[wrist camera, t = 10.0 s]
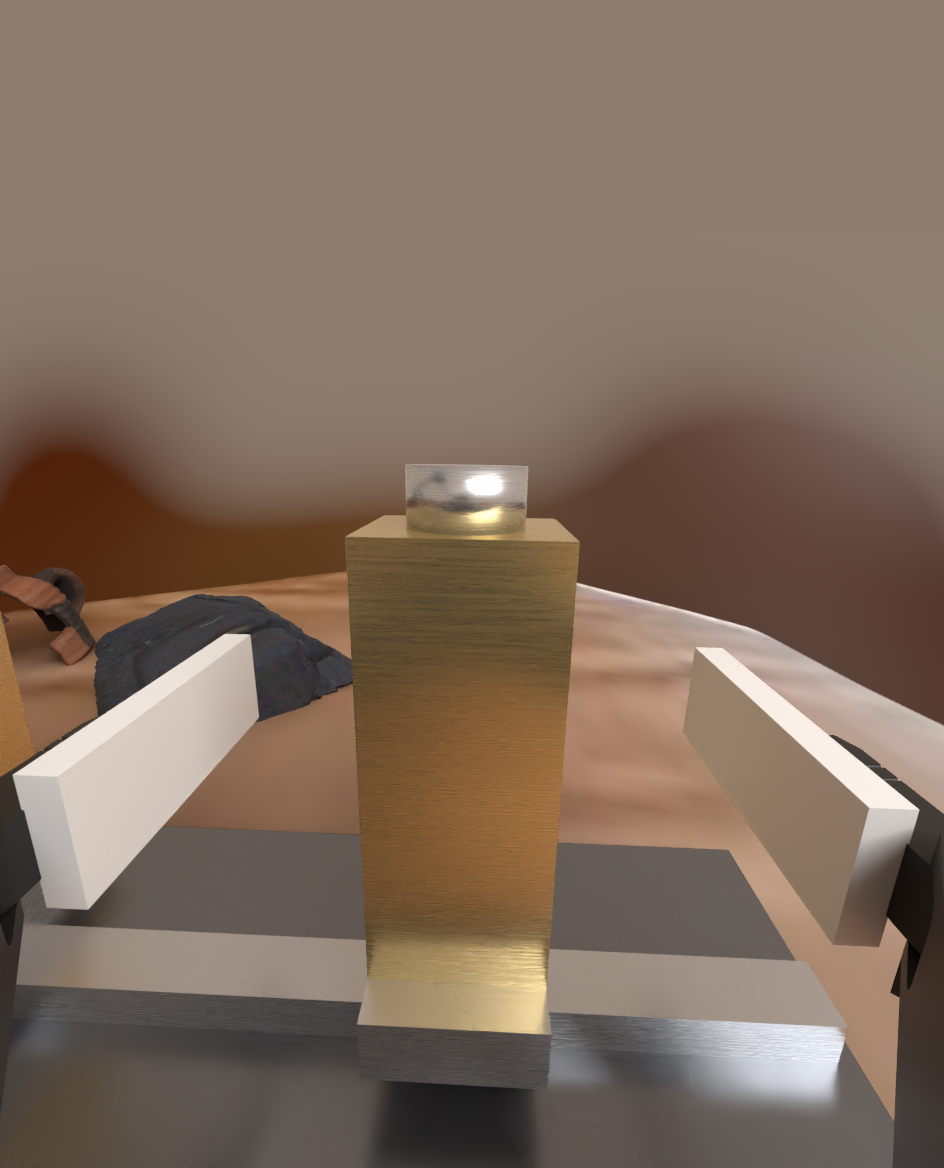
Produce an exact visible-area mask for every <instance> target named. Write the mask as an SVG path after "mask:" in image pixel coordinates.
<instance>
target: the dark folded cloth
mask: <svg viewBox="0 0 944 1168" xmlns="http://www.w3.org/2000/svg"><path fill="white" fill-rule="evenodd" d="M224 634H248V635H250V636H251V645H252V655H253V664H254V674H255V683H256V693H257V702H258V712H259V718H258V719H257V721H256V722H258V721H262V720H265V719H268V718H271V717H273V716H277V715H280V714H283V713H286V712H289V711H292V710H295V709H298V708H302V707H304V706H307V705H309V704H310V702H311V701H313V700H316V699H320V698H322V695H327V694H330V693H332V692H335V691H338V690H337V687H339V686H342V685H345V684H349V683H352V682H353V677H352V660H351V659H349V658H348V657H346V656H344V655H343V654H341V653H340V652H339V651H337V650H335V649H333V648H331V647H330V646H327V645H325V644H323V643H322V642H320V641H319V640H317V639H315V638H312V637H310V636H308V635H306V634H304V633H303V631H302V630H301V629H300V628H298V627H297V626H295V625H294V624H293V623H292V622H290V621H288V620H286V619H284V618H282V617H280V615H279V614H277V613H273V612H271V611H269V610H268V609H267V608H266V607H265V606H264V605H262V604H261V603H260V602H258V601H256V600H254V599H253V598H250V597H246V596H213V595H205V594H197V595H193V596H190V597H187V598H184V599H182V600H180V601H178V602H175V603H172V604H170V605H168V606H166V607H164V608H160V610H157V611H156V612H154V613H152V614H150V615H149V616H147V617H144V618H141V619H137V620H134V621H132V622H130V623H127V624H125V625H123V626H121V627H119V628H117V629H115V630H114V631H111V632H108V633H106V634H105V635H104V636H103V637H102V638H101V639H100V640H99V641H98V643H97V644H96V650H95V654H96V655H97V657H98V661H96V666H95V669H96V673H95V679H94V682H95V685H94V687H95V689H96V694H95V696H96V697H97V701H96V704H97V708H98V717H99V716H101V715H103V714H105V713H107V712H108V711H110V710H111V709H113V708H114V707H116V706H117V705H119V704H120V703H122V702H123V701H125V700H126V699H128V698H129V697H131V696H132V695H134V694H135V693H137V692H138V691H140V690H141V689H143V688H144V687H146V686H147V685H149V684H150V683H152V682H153V681H155V680H156V679H158V678H159V677H161V676H162V675H164V674H165V673H167V672H168V671H170V670H171V669H173V668H174V667H176V666H177V665H179V664H180V663H182V662H183V661H185V660H186V659H188V658H189V657H191V656H192V655H194V654H195V653H197V652H198V651H200V650H201V649H203V648H204V647H206V646H208V645H209V644H211V643H212V642H214V641H215V640H217V639H218V638H220V637H221V636H223V635H224ZM312 663H313V664H312Z"/></svg>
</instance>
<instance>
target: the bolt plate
mask: <svg viewBox="0 0 944 1168" xmlns="http://www.w3.org/2000/svg"><path fill="white" fill-rule="evenodd" d="M33 755H35V753H34V749H33V745H32V740H31V736H30V732H29V728H28V724H27V720H26V716H25V711H24V707H23V703H22V699H21V695H20V691H19V687H18V683H17V678H16V674H15V670H14V666H13V662H12V658H11V654H10V649H9V645H8V641H7V637H6V633H5V629H4V625H3V620H2V616H1V612H0V777H1V776H3V775H4V774H6V773H7V772H9V771H10V770H12V769H14V768H15V767H17V766H18V765H20V764H21V763H23V762H24V761H26V760H27V759H29V758H30V757H32V756H33ZM20 902H21V906H22V909H23V913H24V923H23V931H22V940H21V948H20V957H19V965H18V973H17V982H16V990H15V998H14V1007H13V1015H12V1024H11V1032H10V1040H9V1049H8V1057H7V1065H6V1074H5V1082H4V1090H3V1099H2V1107H1V1116H0V1168H892V1166H893V1142H894V1121H893V1120H892V1118H891V1116H890V1115H889V1113H888V1112H887V1110H886V1108H885V1107H884V1105H883V1103H882V1102H881V1100H880V1098H879V1097H878V1095H877V1093H876V1092H875V1090H874V1089H873V1087H872V1085H871V1084H870V1082H869V1080H868V1079H867V1077H866V1075H865V1074H864V1072H863V1070H862V1069H861V1067H860V1066H859V1064H858V1062H857V1061H856V1059H855V1057H854V1056H853V1054H852V1052H851V1051H850V1049H849V1047H848V1046H847V1044H846V1042H845V1038H846V1034H847V1031H848V1026H847V1025H846V1023H845V1021H844V1020H843V1018H842V1017H841V1015H840V1013H839V1012H838V1010H837V1009H836V1007H835V1006H834V1004H833V1002H832V1001H831V999H830V998H829V996H828V994H827V993H826V991H825V990H824V988H823V986H822V985H821V983H820V982H819V980H818V979H817V977H816V975H815V974H814V972H813V971H812V969H811V967H810V966H809V964H808V963H807V961H796V960H795V959H794V957H793V955H792V954H791V952H790V950H789V949H788V947H787V946H786V944H785V942H784V941H783V939H782V937H781V936H780V934H779V932H778V931H777V929H776V927H775V926H774V924H773V923H772V921H771V919H770V918H769V916H768V914H767V913H766V911H765V909H764V908H763V906H762V904H761V903H760V901H759V899H758V898H757V896H756V895H755V893H754V891H753V890H752V888H751V886H750V885H749V883H748V881H747V880H746V878H745V876H744V875H743V873H742V872H741V870H740V868H739V867H738V865H737V863H736V862H735V860H734V858H733V857H732V855H731V853H730V852H729V850H719V849H694V848H670V847H646V846H622V845H598V844H574V843H557V853H556V867H555V880H554V894H553V908H552V921H551V935H550V948H549V962H548V975H547V997H548V1006H549V1015H550V1025H551V1034H552V1036H551V1048H550V1061H549V1073H548V1086H547V1090H541V1089H523V1088H506V1087H488V1086H470V1085H453V1084H435V1083H418V1082H400V1081H383V1080H365V1079H360V1068H359V1051H358V1034H357V1022H358V1018H359V1013H360V1009H361V1005H362V1001H363V996H364V992H365V988H366V984H367V979H368V977H367V957H366V937H365V917H364V897H363V877H362V857H361V837H360V835H356V834H332V833H308V832H284V831H260V830H236V829H211V828H187V827H163V826H162V827H161V828H160V830H159V831H158V832H157V833H156V834H155V835H154V836H153V837H152V839H151V840H150V841H149V842H148V843H147V844H146V845H145V846H144V848H143V849H142V850H141V851H140V852H139V853H138V854H137V855H136V857H135V858H134V859H133V860H132V861H131V862H130V863H129V864H128V866H127V867H126V868H125V869H124V870H123V871H122V872H121V873H120V875H119V876H118V877H117V878H116V879H115V880H114V881H113V882H112V884H111V885H110V886H109V887H108V888H107V889H106V890H105V891H104V893H103V894H102V895H101V896H100V897H99V898H98V899H97V900H96V902H95V903H94V904H93V905H92V906H91V907H90V908H89V909H88V910H84V909H63V908H47V907H46V903H45V899H44V895H43V891H42V887H41V884H40V881H39V882H38V883H37V884H36V885H35V886H33V887H32V888H31V889H30V890H29V891H28V892H27V893H26V894H25V895H24V896H23V897H22V898H21V899H20Z"/></svg>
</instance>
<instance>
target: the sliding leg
mask: <svg viewBox="0 0 944 1168" xmlns="http://www.w3.org/2000/svg"><path fill="white" fill-rule="evenodd" d="M405 474H406V516H393V515H384V516H383V517H381V518H379V519H377V520H375V521H373V522H372V523H370V524H368V525H366V526H364V527H362V528H361V529H359V530H357V531H355V532H353V533H351V534H350V535H348V536H346V556H347V577H348V597H349V617H350V637H351V657H352V677H353V697H354V717H355V737H356V757H357V777H358V797H359V817H360V837H361V857H362V877H363V897H364V917H365V937H366V957H367V977H368V979H367V984H366V988H365V992H364V996H363V1001H362V1005H361V1009H360V1013H359V1018H358V1022H357V1034H358V1051H359V1068H360V1079H365V1080H383V1081H400V1082H418V1083H435V1084H453V1085H470V1086H488V1087H506V1088H523V1089H541V1090H547V1086H548V1073H549V1061H550V1048H551V1036H552V1034H551V1025H550V1015H549V1006H548V997H547V975H548V962H549V948H550V935H551V921H552V908H553V894H554V880H555V867H556V853H557V840H558V826H559V813H560V799H561V786H562V772H563V759H564V745H565V731H566V718H567V704H568V691H569V677H570V664H571V650H572V637H573V623H574V610H575V596H576V582H577V569H578V555H579V541H578V540H577V539H576V538H575V537H574V536H573V535H572V534H571V533H569V532H568V531H567V530H566V529H565V528H564V527H563V526H562V525H561V524H560V523H559V522H558V521H556V519H536V518H535V519H534V518H526V506H527V484H528V483H527V482H528V467H527V466H505V465H502V466H501V465H457V464H454V465H453V464H406V465H405Z"/></svg>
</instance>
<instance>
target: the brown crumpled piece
mask: <svg viewBox="0 0 944 1168" xmlns="http://www.w3.org/2000/svg"><path fill="white" fill-rule="evenodd" d="M54 586H55V587H54ZM1 594H2V595H5V596H9V597H12V598H14V599H16V600H18V601H19V602H21V603H22V604H24V605H27V606H31V607H32V608H33V610H34V611H35V612H36V613H37V614H38V616H39V617H40V618H41V619H42V620H43V622H44V624H45V625H46V627H47V629H48V630H49V631H62V633H61V634H60V635H59V636H58V637H57V638H56V639H55V640H53V641H52V642H51V643H50V644H49V646H50V648H51V649H53V650H54V651H55V652H57V653H59V654H60V655H61V658H62V659H63V661H64V662H65V663H66V665H73V664H74V663H75V662H76V661H78V660H80V659H81V658H82V657H83V656H84V655H85V654H86V653H87V651H88V650H89V649H90V648H91V647H92V646H93V644H95V640H94V638H93V637H92V636H91V634H90V632H89V630H88V629H87V627H86V625H85V624H84V622H83V620H82V619H81V618H79V613H80V611H81V609H82V607H83V604H84V600H85V589H84V586H83V583H82V581H81V580H80V578H79V577H77V576H76V575H75V574H74V573H72V572H71V571H69V570H66V569H62V568H49V569H45V570H43V571H41V572H40V573H38V574H36V575H34V576H33V577H26V576H17V575H16V574H14V573H13V572H12V571H11V570H10V569H9V568H8V567H7V566H6V565H2V566H0V595H1ZM0 612H1V607H0ZM1 616H2V620H3V624H4V623H6V622H8V621H9V620H8V619H7V618H6V617H5V616H4V614H3V613H1Z"/></svg>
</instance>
